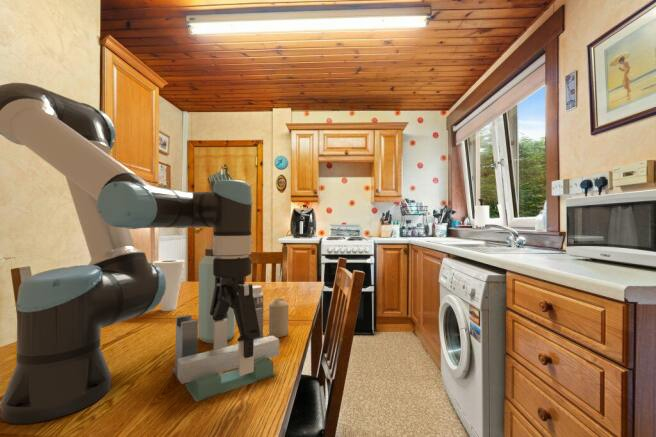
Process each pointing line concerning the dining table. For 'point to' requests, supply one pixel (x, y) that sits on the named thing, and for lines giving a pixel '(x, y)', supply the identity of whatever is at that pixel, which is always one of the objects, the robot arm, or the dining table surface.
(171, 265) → the cup
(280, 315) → the candle
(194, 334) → the stand
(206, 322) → the water bottle
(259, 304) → the pill bottle
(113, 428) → the dining table surface
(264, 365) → the rest
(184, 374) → the rail
